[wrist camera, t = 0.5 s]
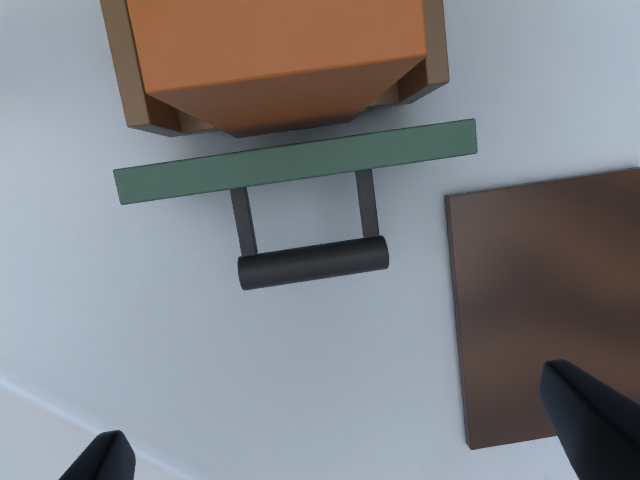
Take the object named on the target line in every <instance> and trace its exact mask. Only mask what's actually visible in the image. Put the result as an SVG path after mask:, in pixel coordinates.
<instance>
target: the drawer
mask: <svg viewBox="0 0 640 480" xmlns="http://www.w3.org/2000/svg"><path fill="white" fill-rule="evenodd" d="M100 3H101V8H102V12H103V17H104V22H105V26H106V31H107V35H108V40H109V45H110V49H111V54H112V59H113V63H114V68H115V72H116V77H117V82H118V86H119V91H120V95H121V100H122V105H123V109H124V114H125V118H126V123H127V126H128V127H130V128H134V129H139V130H143V131H147V132H151V133H155V134H160V135H164V136H168V137H176V136H183V135H190V134H197V133H204V132H212V131H219V130H220V129H218V128H216V127H214V126H212V125H209V124H207V123H205V122H203V121H201V120H199V119H197V118H195V117H193V116H191V115H189V114H187V113H185V112H183V111H181V110H179V109H177V108H175V107H173V106H171V105H169V104H167V103H165V102H162V101H160V100H158V99H156V98H154V97H152V96H150V95H148V94H147V93H146V91H145V87H144V82H143V77H142V72H141V68H140V63H139V58H138V53H137V48H136V43H135V39H134V34H133V29H132V24H131V19H130V14H129V9H128V5H127V0H100ZM423 4H424V15H425V26H426V37H427V48H428V54H427V56H426V57H425V58H424V59H422V60H421V61H420V62H419V63H418V64H417V65H415V66H414V67H413V68H412V69H411V70H410V71H408V72H407V73H406V74H405V75H404V76H403V77H401V78H400V79H399V80H398V81H397V82H396V83H394V84H393V85H392V86H391V87H390V88H389V89H387V90H386V91H385V92H384V93H383V94H382V95H381V96H379V97H378V98H377V99H376V100H375V101H374V102H372V103H371V104H370V105H369V106H368V107H367V108H365V109H364V110H368V109H375V108H382V107H389V106H396V105H403V104H410V103H413V102H415V101H416V100H418V99H420V98H422V97H423V96H425V95H427V94H429V93H430V92H432V91H434V90H436V89H438V88H439V87H441V86H443V85H445V84H447V83H448V82H449V68H448V56H447V44H446V32H445V19H444V7H443V0H423ZM477 152H478V151H477V137H476V123H475V119H474V118H472V119H465V120H458V121H451V122H444V123H437V124H430V125H423V126H416V127H409V128H402V129H395V130H388V131H381V132H374V133H367V134H360V135H353V136H346V137H339V138H332V139H325V140H318V141H311V142H304V143H297V144H290V145H283V146H276V147H269V148H262V149H255V150H248V151H241V152H234V153H227V154H220V155H213V156H206V157H199V158H192V159H185V160H177V161H170V162H163V163H156V164H149V165H142V166H135V167H128V168H121V169H115V170H113V173H114V177H115V182H116V186H117V191H118V195H119V199H120V203H121V205H125V204H132V203H139V202H146V201H153V200H160V199H167V198H174V197H181V196H188V195H194V194H201V193H208V192H215V191H222V190H229V189H230V193H231V198H232V204H233V209H234V215H235V220H236V226H237V232H238V237H239V243H240V248H241V254H242V256H240V257H239V258H238V275H239V281H240V284H241V287H242V289H243V290H251V289H257V288H264V287H270V286H277V285H283V284H290V283H297V282H303V281H310V280H316V279H323V278H329V277H336V276H343V275H349V274H356V273H362V272H369V271H375V270H382V269H387V268H388V266H389V254H388V248H387V244H386V241H385V238H384V237H383V236H382V235H380V236H379V227H378V218H377V210H376V201H375V193H374V185H373V176H372V169H374V168H381V167H388V166H394V165H401V164H408V163H415V162H422V161H429V160H436V159H443V158H450V157H457V156H463V155H470V154H476V153H477ZM353 171H355V175H356V183H357V191H358V199H359V207H360V215H361V223H362V231H363V236H364V237H365V238H360V239H353V240H347V241H340V242H333V243H326V244H320V245H313V246H306V247H300V248H293V249H286V250H280V251H273V252H266V253H260V254H257V253H258V250H257V244H256V238H255V232H254V226H253V221H252V215H251V209H250V203H249V197H248V192H247V187H250V186H257V185H263V184H270V183H277V182H284V181H291V180H298V179H305V178H312V177H319V176H326V175H332V174H339V173H346V172H353Z"/></svg>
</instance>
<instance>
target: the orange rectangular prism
mask: <svg viewBox="0 0 640 480" xmlns="http://www.w3.org/2000/svg"><path fill="white" fill-rule="evenodd" d="M127 5H128V9H129V14H130V19H131V24H132V29H133V34H134V39H135V43H136V48H137V53H138V58H139V63H140V68H141V72H142V77H143V82H144V87H145V91H146V93H147V94H148V95H150V96H152V97H154V98H156V99H158V100H160V101H162V102H165V103H167V104H169V105H171V106H173V107H175V108H177V109H179V110H181V111H183V112H185V113H187V114H189V115H191V116H193V117H195V118H197V119H199V120H201V121H203V122H205V123H207V124H209V125H212V126H214V127H216V128H218V129H220V130H222V131H224V132H226V133H228V134H230V135H232V136H234V137H236V138H241V137H248V136H255V135H262V134H269V133H276V132H283V131H290V130H297V129H304V128H311V127H318V126H325V125H333V124H340V123H347V122H350V121H351V120H353V119H354V118H355V117H356V116H357V115H358V114H360V113H361V112H362V111H363V110H364V109H365V108H367V107H368V106H369V105H370V104H371V103H372V102H374V101H375V100H376V99H377V98H378V97H379V96H381V95H382V94H383V93H384V92H385V91H386V90H387V89H389V88H390V87H391V86H392V85H393V84H394V83H396V82H397V81H398V80H399V79H400V78H401V77H403V76H404V75H405V74H406V73H407V72H408V71H410V70H411V69H412V68H413V67H414V66H415V65H417V64H418V63H419V62H420V61H421V60H422V59H424V58H425V57H426V56H427V54H428V48H427V37H426V26H425V15H424V4H423V0H127Z"/></svg>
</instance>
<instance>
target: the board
mask: <svg viewBox="0 0 640 480" xmlns="http://www.w3.org/2000/svg"><path fill="white" fill-rule="evenodd" d="M445 204H446V216H447V227H448V238H449V250H450V261H451V272H452V284H453V295H454V306H455V318H456V329H457V340H458V352H459V363H460V374H461V386H462V397H463V408H464V420H465V431H466V442H467V445H468V446H469V448H470V450H474V449H480V448H486V447H492V446H498V445H504V444H510V443H516V442H522V441H528V440H535V439H541V438H547V437H553V436H557V433H556V431H555V429H554V427H553V425H552V423H551V421H550V419H549V416H548V414H547V412H546V410H545V408H544V406H543V404H542V401H541V399H540V397H539V393H538V384H539V380H540V375H541V371H542V366H543V364H544V363H545V362H546V361H551V360H558V359H564V360H567V361H569V362H571V363H572V364H574V365H576V366H577V367H579V368H581V369H582V370H584V371H586V372H587V373H589V374H590V375H592V376H594V377H595V378H597V379H599V380H600V381H602V382H604V383H605V384H607V385H609V386H610V387H612V388H614V389H615V390H617V391H618V392H620V393H622V394H623V395H625V396H627V397H628V398H630V399H632V400H633V401H635V402H637V403H638V404H640V167H635V168H628V169H621V170H615V171H608V172H601V173H594V174H587V175H581V176H574V177H567V178H560V179H554V180H547V181H540V182H533V183H526V184H520V185H513V186H506V187H499V188H493V189H486V190H479V191H472V192H466V193H459V194H452V195H446V196H445Z"/></svg>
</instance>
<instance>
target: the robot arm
mask: <svg viewBox="0 0 640 480" xmlns="http://www.w3.org/2000/svg"><path fill="white" fill-rule="evenodd" d="M538 393H539V397H540V399H541V401H542V404H543V406H544V408H545V410H546V412H547V414H548V416H549V419H550V421H551V423H552V425H553V427H554V429H555V431H556V433H557V436H558V438H559V440H560V442H561V444H562V446H563V448H564V451H565V453H566V455H567V457H568V459H569V461H570V463H571V465H572V467H573V469H574V471H575V473H576V474H577V476H578V478H579V480H640V404H638V403H637V402H635V401H633V400H632V399H630V398H628V397H627V396H625V395H623V394H622V393H620V392H618V391H617V390H615V389H614V388H612V387H610V386H609V385H607V384H605V383H604V382H602V381H600V380H599V379H597V378H595V377H594V376H592V375H590V374H589V373H587V372H586V371H584V370H582V369H581V368H579V367H577V366H576V365H574V364H572V363H571V362H569V361H567V360H564V359H558V360H551V361H546V362H545V363H544V364H543V366H542V371H541V375H540V380H539V384H538ZM135 464H136V459H135V454H134V451H133V449H132V448H131V446H130V444H129V442H128V440H127V439H126V437H125V435H124V433H123V432H122V431H120V430H115V431H109V432H103V433H101V434H99V435H98V436H97V437H96V438H95V439H94V440H93V441H92V442H91V443H90V444H89V446H88V447H87V448H86V449H85V450H84V451H83V452H82V453H81V455H80V456H79V457H78V458H77V459H76V460H75V461H74V463H73V464H72V465H71V466H70V467H69V468H68V470H67V471H66V472H65V473H64V474H63V475H62V476H61V477H60V479H59V480H133V479H134V472H135Z"/></svg>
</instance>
